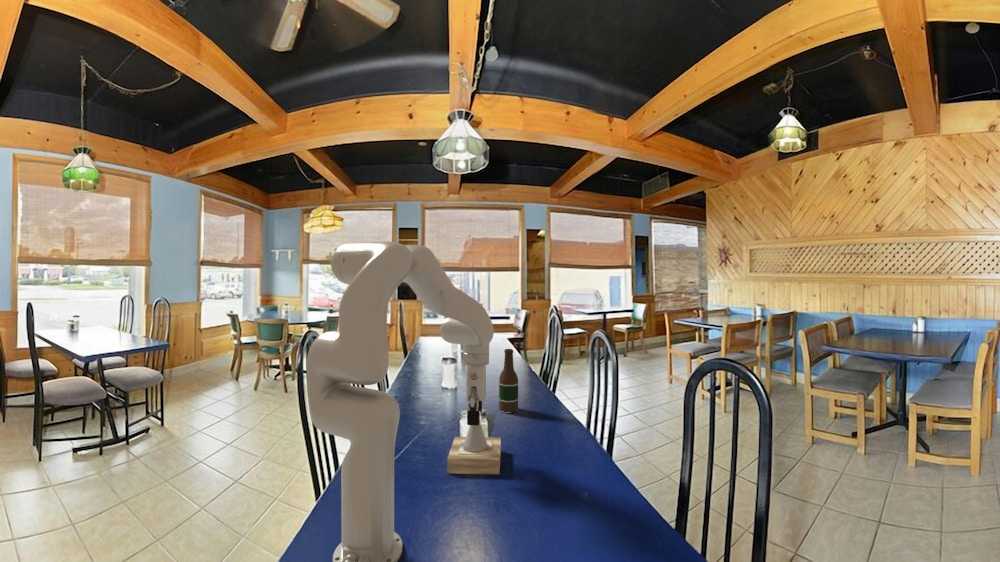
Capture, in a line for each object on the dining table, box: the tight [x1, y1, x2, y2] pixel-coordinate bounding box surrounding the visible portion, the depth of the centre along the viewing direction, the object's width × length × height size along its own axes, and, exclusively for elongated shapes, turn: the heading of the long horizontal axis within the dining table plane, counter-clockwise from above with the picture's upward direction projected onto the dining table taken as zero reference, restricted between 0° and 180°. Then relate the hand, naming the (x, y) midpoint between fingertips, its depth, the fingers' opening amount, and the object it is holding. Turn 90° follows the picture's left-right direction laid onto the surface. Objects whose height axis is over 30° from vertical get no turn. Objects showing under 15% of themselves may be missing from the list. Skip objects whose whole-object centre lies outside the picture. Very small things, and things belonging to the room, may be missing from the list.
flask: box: [463, 411, 488, 452], centre depth 112 cm, size 7×7×10 cm
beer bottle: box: [498, 348, 519, 412], centre depth 154 cm, size 8×8×24 cm
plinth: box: [446, 436, 502, 475], centre depth 112 cm, size 14×14×4 cm
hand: (474, 418), depth 112 cm, fingers open, 9 cm apart
